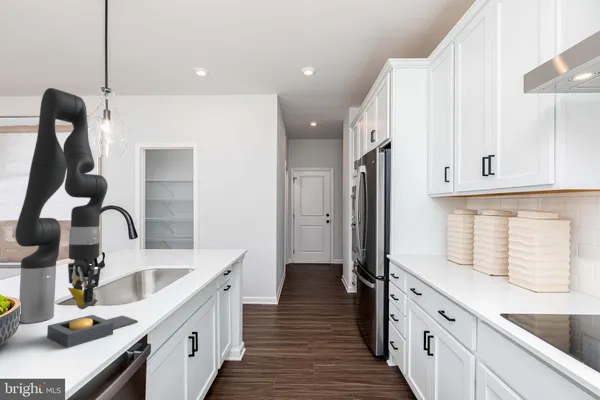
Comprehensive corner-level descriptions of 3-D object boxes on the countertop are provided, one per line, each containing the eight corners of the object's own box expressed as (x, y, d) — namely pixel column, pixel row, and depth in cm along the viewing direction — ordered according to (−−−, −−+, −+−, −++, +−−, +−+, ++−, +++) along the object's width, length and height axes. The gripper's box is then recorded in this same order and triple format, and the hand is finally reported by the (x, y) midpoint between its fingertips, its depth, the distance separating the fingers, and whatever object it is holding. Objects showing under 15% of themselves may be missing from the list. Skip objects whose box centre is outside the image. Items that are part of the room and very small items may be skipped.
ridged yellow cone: (99, 310, 97) (71, 291, 91) (84, 317, 98) (56, 298, 92) (105, 295, 101) (79, 276, 96) (91, 302, 102) (64, 283, 96)
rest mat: (94, 324, 106) (94, 322, 106) (122, 317, 113) (122, 315, 113) (109, 330, 101) (110, 328, 101) (137, 322, 109) (137, 320, 109)
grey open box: (47, 337, 94) (47, 325, 95) (91, 325, 105) (92, 314, 105) (67, 348, 88) (67, 334, 88) (112, 334, 98) (113, 322, 98)
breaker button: (65, 330, 96) (65, 322, 96) (86, 325, 100) (86, 317, 100) (75, 334, 93) (75, 326, 93) (96, 329, 97) (96, 320, 97)
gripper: (58, 241, 98) (56, 299, 97) (83, 244, 90) (81, 307, 90) (85, 239, 104) (84, 294, 104) (111, 242, 97) (109, 301, 96)
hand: (82, 300), depth 97 cm, fingers closed on ridged yellow cone, 5 cm apart
